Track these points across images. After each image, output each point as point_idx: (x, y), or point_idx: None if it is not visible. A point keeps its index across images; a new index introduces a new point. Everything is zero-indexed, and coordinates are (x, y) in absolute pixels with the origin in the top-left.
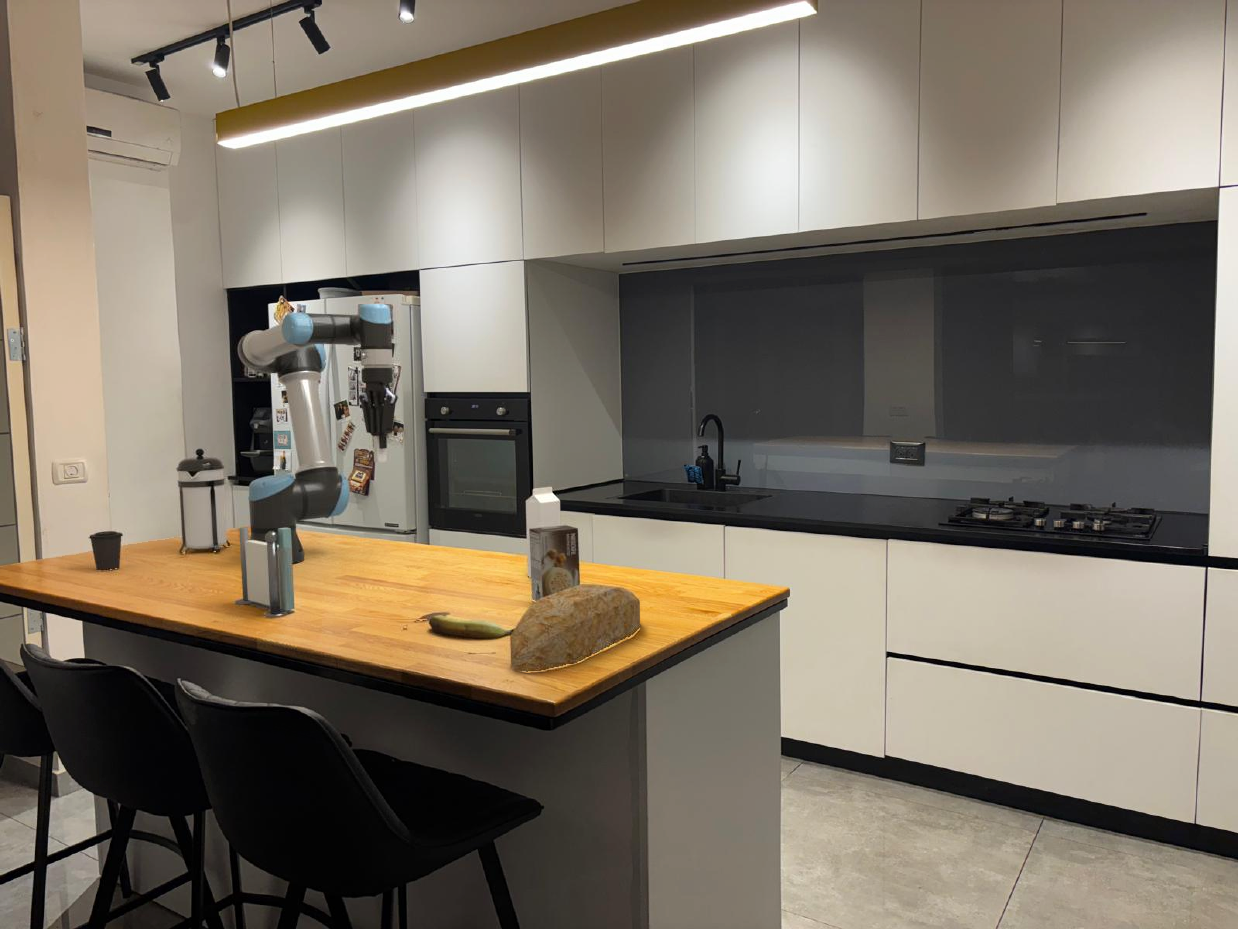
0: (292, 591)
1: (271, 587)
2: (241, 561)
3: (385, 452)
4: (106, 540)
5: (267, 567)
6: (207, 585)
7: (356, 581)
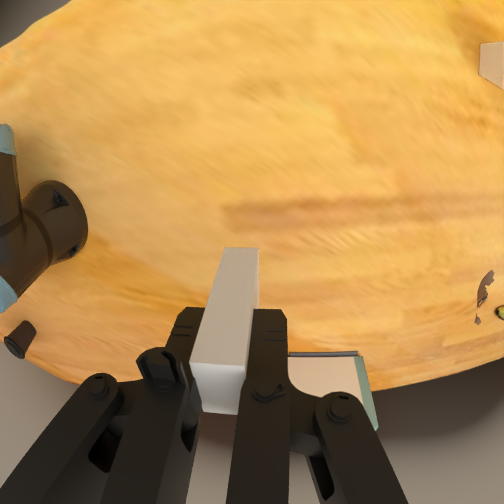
0: (365, 370)
1: None
2: None
3: (255, 282)
4: (24, 352)
5: None
6: (151, 335)
7: (283, 228)
